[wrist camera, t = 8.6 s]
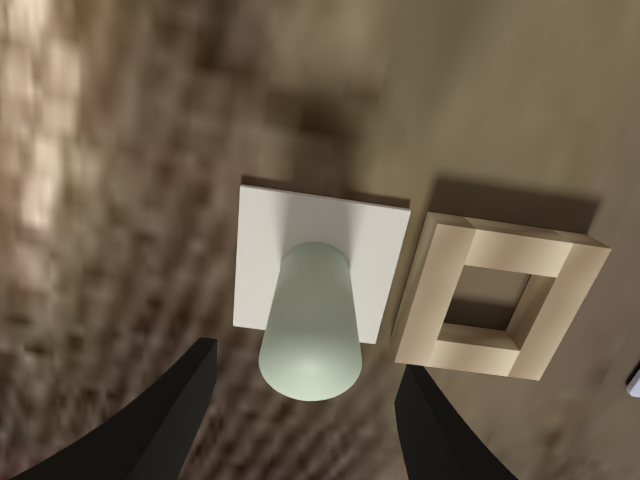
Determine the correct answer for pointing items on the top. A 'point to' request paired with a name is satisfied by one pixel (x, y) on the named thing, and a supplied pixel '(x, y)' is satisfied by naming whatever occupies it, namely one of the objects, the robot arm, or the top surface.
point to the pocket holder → (503, 254)
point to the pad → (315, 226)
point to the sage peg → (312, 326)
